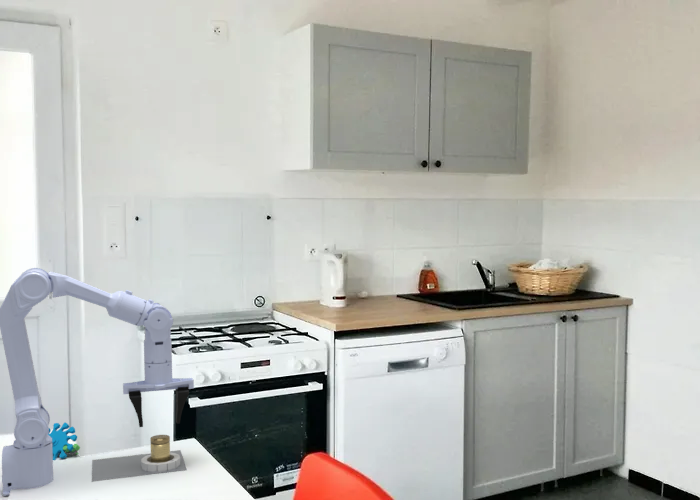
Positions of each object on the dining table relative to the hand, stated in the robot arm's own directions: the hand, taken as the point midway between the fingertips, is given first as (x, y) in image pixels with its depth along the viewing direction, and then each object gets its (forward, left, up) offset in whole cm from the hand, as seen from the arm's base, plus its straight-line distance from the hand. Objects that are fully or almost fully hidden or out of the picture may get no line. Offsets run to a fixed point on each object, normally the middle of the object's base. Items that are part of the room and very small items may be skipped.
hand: (159, 424), depth 158 cm
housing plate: (-4, +2, -10) cm, 11 cm away
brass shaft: (0, 0, -9) cm, 9 cm away
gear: (-21, +16, -10) cm, 28 cm away
